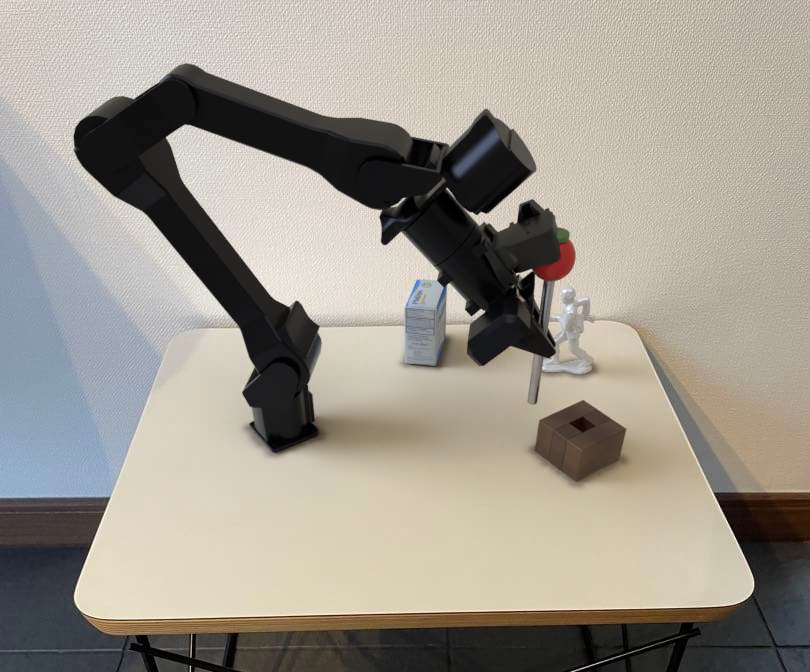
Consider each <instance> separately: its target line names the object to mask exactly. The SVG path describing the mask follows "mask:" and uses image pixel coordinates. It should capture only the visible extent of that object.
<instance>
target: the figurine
mask: <svg viewBox="0 0 810 672" xmlns="http://www.w3.org/2000/svg"><path fill="white" fill-rule="evenodd" d="M559 294H560V297H561V298H560V300H561V302H562V304H563V307H562V313H561V314H557V315H555V314H554V315H550V318H549V321H550V320H555V321H556V322H558V323H559V325H560V328H561V330H560V331H559V332H558V333H557V334H556V335H555V336H553V338H554V340H555V342H556V346H555V347H554V348H555V350H556V354H555V355H553V356H552V357H551V358H544V359H543V366H542V372H545V373H563V372H566V373H570V374H573V375H580V376H581V375H584V374H587V373H590V372H591V371H592V369H593V366H592V363H593V362H594V360H595V359H594V357H593V356H592V355H590V354H588V353H587V351H586V350H585V349H583V348H581V347H580V346H579V345H580V337H581V334H583V333H584V331H585V324H584V323H585V321H587V322H589V323H591V324H595V318H596V315H594V314H591V298H590V297H589V296H588V295H584V296H578V297H577V294H576V289H575V288H574V287H572V286H571V285H570V286H569V285H568V286H567V285H566V286H563V288H562V289H561V291H560V293H559ZM579 307H582V309H581V313H580V314H579V312H578V311H579V310H578V308H579ZM566 341H567V344H568V350H569V352H570V353H571V354H572V355H573V356H575V357H576V358H577V359H575V360H570V361H565V362H560V353H561V349H560V344H562V343H564V342H566Z"/></svg>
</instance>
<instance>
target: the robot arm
mask: <svg viewBox="0 0 810 672" xmlns="http://www.w3.org/2000/svg"><path fill="white" fill-rule="evenodd" d="M183 126H191V127H194V128H197V129H199V130H203V131H205V132H207V133H210V134H213V135H216V136H219V137H221V138H224V139H227V140H230V141H232V142H235V143H238V144H241V145H243V146H247V147H249V148H252V149H254V150H257V151H261V152H263V153H266V154H268V155H272V156H274V157H277V158H280V159H282V160H285V161H287V162H291V163H293V164H296V165H299V166H302V167H305V168H307V169H309V170H311V171H313V172H315V173H316V174H318V175H319V176H321V177H322V178H323V179H324V180H325V181H326V182H327V183H328V184H329V185H330V186H331V187H332V188H334V189H335V190H336V191H338V192H339V193H341V194H342V195H345V196H346V197H348V198H350V199H352V200H354V201H355V202H357V203H358V204H360V205H362V206H364V207H366V208H368V209H371V210H376V211H380V213H379V217H378V218H379V221H380V227H381V231H380V232H381V235H380V244H381V245H383V246H388V245H389V244H390V243H391V242H392V241H393V240H394V239H395V238H396V237H397V236H398V235H400V234H401V233H402V235H403V236H404V237H405V238H406V239H407V240H408V241H409V242H410V243H411V244H412V245H413V246H414V247H415V248H416V249H417V250H418V251H419V253H420V254H421V255H422V256H423V257H424V258H425V259H426V260H427V261H428V262H429V263H430V264H431V265H432V266H433V268H434V269H436V270H437V272H438V273H437V279H436V281H438V282H439V283H440V284H441V285H442V286H443V287H445V286H446V285H447V286H448V285H451V286H452V288H453V289H454V290H456V292H457V293H458V294H459V295H460V296H461V297H462V298H463V299H464V301H465V307H464V311H466V313H467V314H468V315H469V316H470V317H473V316H474V315H476V314H477V313H478V312H480V311H481V310H482V311H484V312H483V313H482V314H480V315H479V317H477V318H476V319H475V320H473V321H472V322H471V323H470V324H469V329H468V335H467V342H466V355H467V356H468V357H469V358H470V359H471V360H472V361H473V362H474V363H475V364H476V365H477V366H478V367H484V366H486V365H487V364H488V363H490V362H492V361H493V360H494V359H496V358H497V357H498V356H499V355H501V354H502V353H503V352H505V351H506V350H507V349H509V348H510V347H512V348H515V349H518V350H521V351H525V352H528V353H530V354H533V355H534V354H536V355H539V356H542V357H544V359H551V358H552V356H553V355H555V354H556V350H555V348H554V347H555V346H556V342H555V340H554V336H553V334H552V332H551V330H550V328H549V327H548V332H547V335H546V334H545V332H544V331H543V329H542V328H541V326H540V324H539V323H538V319H539V311H540V307H539V305H538V303H537V300H536V299H535V286H536V275H535V273H534V272H533V270H532V269H533V268H536V267H538V266H541V265H544V264H547V265H550V264H553V263H555V262H557V261H558V260H560V259H561V251H560V245H559V242H558V239H557V227H558V224H557V221H556V215H555V214H554V212H553V211H551V210H550V208H549V207H547V208H545V209H544V208H543V206H542V205H540V204H539V203H538V202H537V201H536V200H534V198H531V199H529V200H526V201H524V202H521V203H519V205H518V212H517V218H516V222H514V221H510V222H509V223H508V224H509V225H508V227H506V228H503V229H502V230H499V231H498V230H496V228H495V227H494V226H493V225H492V224H491V223H489V222H488V223H486V222H485V221H483V222H482V223H481V224H479V223H478V222H477V221H476V220H475V219H474V218H473V216H471V215H470V213H473V214H474V215H475V216H478V215H479V214H480V213H482V214H485V215H487V214H489V213H491V212H492V211H493V210H495V208H496V207H497V206H499V204H501V203H502V202H503V201H504V200H505V199H506V198H507V197H509V196H510V195H511V194H512V193H513V192H514V191H515V190H517V189H518V188H519V187H520V186H521V185H522V184H524V183H525V182H526V181H527V180H528V179H529V178H530V177H531V176H532V175H533V174H535V173H536V172H537V169H538V168H537V164H536V161H535V159H534V157H533V155H532V152H531V151H530V150H529V148H528V146H527V145H526V144H525V142H524V140H523V139H522V138H521V136H520V135H519V134H518V132H517V131H516V130H515V129H514V128H513V127H512V128H510V127H509V126H508V124H506V123H505V122H504V121H503V120H501V119H500V118H498V117H495V116H494V115H493V113H492V112H491V111H490V109H488V108H484V109H482V111H481V112H480V113H478V115H477V116H476V117H475V118H474V120H473V121H472V122H471V124H470V126H468V128H467V129H466V130H465V131H464V132H463V133H462V134H461V135H460V136H458V138H457V139H456V140H455V141H454V142H452V144H450V145H449V144H448V143H446V142H442V141H437V140H431V139H426V138H421V137H416V136H411V134H410V133H409V132H408V131H407V130H406V129H405V128H404V127H402V126H400V125H399V124H396V123H392V122H388V121H383V120H377V119H372V118H365V117H335V116H329V115H324V114H320V113H317V112H315V111H312V110H309V109H307V108H304V107H301V106H299V105H296V104H293V103H291V102H288V101H285V100H283V99H280V98H277V97H274V96H272V95H269V94H266V93H263V92H260V91H258V90H255V89H252V88H249V87H247V86H244V85H242V84H239V83H237V82H235V81H230V80H228V79H226V78H222V77H220V76H217V75H216V74H211V73H209V72H207V71H205V70H204V69H203V68H201V67H199V66H198V65H195V64H194V63H188V62H185V63H182V64H179V65H177V66H175V68H173V69H172V70H170V71H169V72H168V73H167V74H166V75H164V76H163V77H162V78H161V79H160V80H159V82H157V83H155V84H154V85H152V86H151V87H149V88H147V89H146V90H144V91H143V92H141V93H140V94H138V95H137V96H135V98H132V97H128V96H124V95H119V96H113V97H111V98H109V99H107V100H106V101H105V102H104V103H102V104H101V105H99V106H97V107H96V108H95V109H94V110H92V111H90V113H89V114H87V115H86V116H85V117H83V118H81V119H80V120H79V122H78V123H77V124H76V126H75V128H74V132H73V152H74V155H75V157H76V159H77V161H78V162H79V164H80V166H81V167H82V168H83V169H84V170H85V171H86V172H87V173H88V174H89V176H91V177H92V178H93V179H94V180H95V181H97V183H98V184H100V185H101V187H103V188H104V189H105V190H106V191H107V192H108V193H109V194H110V195H111V196H112V197H114V198H116V199H118V200H120V201H122V202H123V203H125V204H127V205H130V206H131V207H133V208H135V209H137V210H139V211H141V212H142V213H143V214H144V215H145V216H146V217H148V219H149V220H150V221H151V222H152V224H153V225H154V226H155V227H156V228H157V230H158V231H159V232H160V234H161V235H162V236H163V237H164V238H165V240H167V242H168V243H169V244H170V245H171V247H172V248H173V249H174V250H175V252H176V253H177V254H178V255H179V256H180V257H181V259H182V260H183V261H184V263H185V264H186V265H187V266H188V267H189V269H190V270H191V271H192V272H193V273H194V275H195V276H196V277H197V278H198V280H199V281H200V282H201V283H202V284H203V285H204V287H205V289H207V290H208V291H209V293H210V294H211V295H212V296H213V297H214V299H215V300H216V301H217V302H218V304H219V305H220V306H221V307H222V309H223V310H224V311H225V312H226V314H227V315H228V316H229V317H230V318H231V319H232V321H233V322H234V323H235V324H236V326H237V327H238V329H239V330H240V333H241V337H242V339H243V343H244V346H245V349H246V353H247V355H248V359H249V360H250V362H251V364H252V365H253V370H252V371H251V373H250V375H249V378H248V380H247V381H246V383H245V385H244V388H243V390H242V392H241V394H242V396H243V398H244V399H245V401H246V403H247V405H248V407H249V408H251V411H252V417H253V421H250V422H249V428H250V430H251V431H252V432H253V433H254V434H255V435H256V436H257V437H258V438H259V440H261V442H262V443H263V444H264V445H265V446H266V447H267V448H268V449H269V450H270V451H271V452H272V453H277V452H280V451H282V450H284V449H288V448H290V447H292V446H295V445H297V444H299V443H302V442H304V441H306V440H309V439H311V438H314V437H317V436H318V435H319V434H320V429H319V428H318V427H317V426H316V425H315V421H316V413H315V406H314V405H315V404H314V396H313V395H314V394H313V393H312V392H311V391H310V390H309V383H310V380H311V378H312V376H313V373H314V370H315V368H316V366H317V363H318V360H319V358H320V355H321V352H322V347H323V345H322V344H323V342H322V338H321V335H320V334H319V330H320V329H321V328H320V327H321V326H320V325H319V324H317V323H316V322H314V320H312V319H311V317H310V316H309V315H308V313H307V312H306V310H305V308H304V306H303V304H302V303H301V302H300V301H299V300H295V301H293V303H291V304H290V305H289V306H288V305H286V304H284V303H282V302H280V301H278V300H276V299H275V298H274V297H273V296H272V295H271V294H270V293H269V291H268V290H267V288H265V286H264V285H263V284H262V283H261V282H260V280H259V278H258V277H257V276H256V275H255V273H254V272H253V271H252V269H251V268H250V267H249V266H248V264H246V262H245V261H244V259H243V258H242V257H241V256H240V254H239V253H238V251H237V250H236V248H235V247H234V246H233V245H232V244H231V242H230V241H229V240H228V239H227V238H226V236H225V235H224V233H223V232H222V231H221V230H220V228H219V227H218V225H216V223H215V222H214V221H213V219H212V218H211V216H210V215H209V214H208V213H207V212H206V211H205V209H204V208H203V206H202V205H201V204H200V202H199V201H198V200H197V198H195V195H194V194H192V192H191V191H190V189H189V188H188V187H187V185H186V184H185V183H184V181H183V179H182V177H181V174H180V171H179V168H178V165H177V161H176V158H175V155H174V152H173V149H172V146H171V144H170V141H169V140H168V139H167V137H168V136H171V134H173V133H174V132H176V131H177V130H179V129H181V128H182V127H183ZM397 204H398V205H397ZM530 270H531V271H530ZM527 271H530V272H529V273H528V274H527V275H525V276H523V277H522V276H521V273H525V272H527Z"/></svg>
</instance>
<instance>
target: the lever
mask: <svg viewBox="0 0 810 672" xmlns="http://www.w3.org/2000/svg"><path fill="white" fill-rule="evenodd" d="M570 235H571V233H570V231H569V230H568V229H566V228H564V227H558V226H557V239H558V242H559V245H560V251H561V259H560V260H558V261H557V262H555V263H553V264H550V265H547V264H544V265H541V266H538V267H536V268H533V269H531V271H533V272H534V273H535V277H537V278H538V279H541V280H542V281H543V282H542V290H541V297H540V304H539V310H540V311H539V319H538V323H539V324H540V326H541V328H542V329H543V331H544V332H545V334H546V335H547V332H548V328H549V325H550V320H549V318H550V316H551V311H552V304H553V297H554V290H555V284H556V283H555V282H557V281H561V280H563V279H565V278H566V277H567V276H568V275H569V274H570V273H571V272H572V270H573V269H574V267H575V263H576V257H577V255H576V248H575V245H574V244H573V242H572V241H571V239H570V237H571V236H570ZM544 359H545V357H542V356H539V355H536V354H533V358H532V364H531V372H530V379H529V386H528V394H527V404H528V405H530V406H531V405H532V406H534V405H537V404H538V400H539V392H540V385H541V380H542V379H541V378H542V373H543V371H542V366H543V360H544Z"/></svg>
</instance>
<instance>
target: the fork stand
mask: <svg viewBox="0 0 810 672" xmlns="http://www.w3.org/2000/svg"><path fill="white" fill-rule="evenodd" d="M626 434H627V428H626V427H624V426H623V425H621V424H620V423H619V422H617V421H616V420H614V418H613V419H612V418H611V417H610V416H608V415H607V414H605V413H603V412H602V411H601V410H599V409H598V408H596V407H595V406H593V405H592V404H590V402H588V401H586V400H585V399H582V400H580V401H577V402H575V403H573V404H571V405H568V406H567V407H565V408H562V409H560V410H558V411H556V412H554V413H551V414H549V415H547V416H545V417H542V418H540V419H539V420H538V425H537V432H536V440H535V445H534V452H536V453H537V454H538V455H540V456H541V457H542V458H544V459H545V460H546V461H548V462H549V463H550V464H552V466H554V467H555V468H557V469H558V470H560V471H561V472H562V473H563V474H565V475H566V476H567V477H568V478H570V479H571V480H573V481H574V482H576V483H577V482H578V481H580V480H582V479H584V478H586V477H588V476H590V475H592V474H595V472H598V471H600V470H602V469H604V468H606V467H607V466H609V465H611V464H613V463H615V462H618V461H619V460H620V457H621V453H622V449H623V445H624V443H625V442H624V441H625V437H626Z"/></svg>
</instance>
